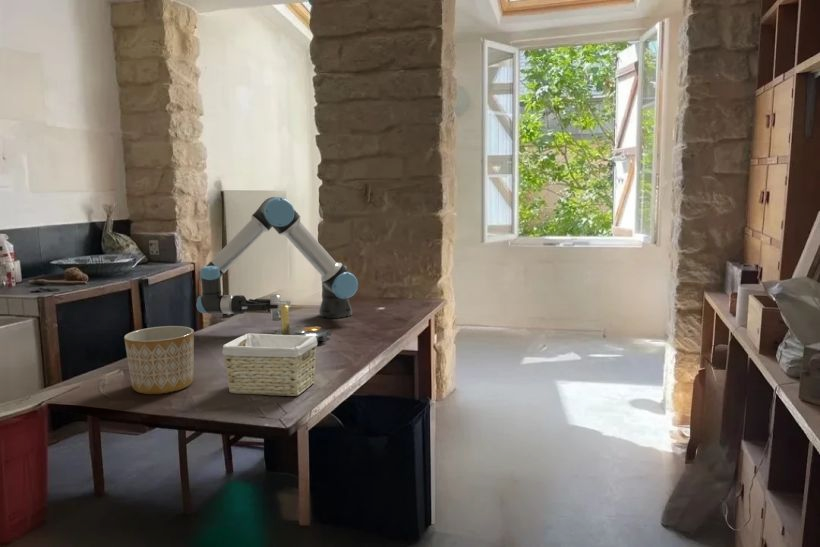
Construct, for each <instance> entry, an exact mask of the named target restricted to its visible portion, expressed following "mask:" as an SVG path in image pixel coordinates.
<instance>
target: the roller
mask: <svg viewBox="0 0 820 547" xmlns="http://www.w3.org/2000/svg"><path fill="white" fill-rule="evenodd" d="M269 299H270V303H281V300H282V299H281V294H277V293H276V294H270V295H269ZM270 314H271V321H272V322H276V321H277V322H278V321H281V310H271V309H270Z"/></svg>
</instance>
